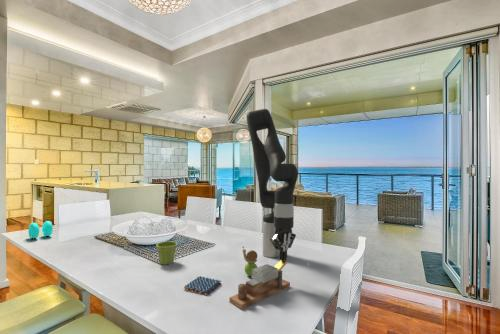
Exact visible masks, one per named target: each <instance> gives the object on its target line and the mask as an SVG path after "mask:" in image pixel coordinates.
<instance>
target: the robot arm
mask: <svg viewBox="0 0 500 334" xmlns="http://www.w3.org/2000/svg"><path fill="white" fill-rule="evenodd" d="M246 123H247V124H246V125H247V128H248V132H249V138H250V141H251V145H252V146H251V147H252V152H253V158H254V159H253V161H254V164H255V171H256V176H257V181H258V192H259V193H258V194H259V202H260V206H261V207H262V208H264V209H272V212H270V213H268V214H264V215H263V216H262V256H264V257H266V258H279V261H280V260H282V261H287V260H288V259H287V258H288V250H289V249H291V248H292V246H293V243H294V241H295V238H296V236H297V234H296V233H293V228H294V223H295V222H294V217H295V216H294V214H295V213H294V210H295V209H294V191H295V188H296V184H297V181H298V177H299V172H298V171H299V170H298V168H297V166H296V164H294V163H284V162H285V161H286V159H287V156H286V153H285V151H284V149H283V146H282V145H281V142H280V139H279V136H278V133H277V131H276V126H275V123H274V120H273V117H272V114H271V112H270V110H269V109H267V108H262V109H257V110H252V111H248V112H247V113H246ZM262 130H263V131H264V130H267V136H266V139H265V141H264V143H263V141H262V140H261V139H260V138H259V135H258V133H257V132H258V131H262ZM270 178H272V179H273V181H275V182H281V183H282V182H284V183H283V186H280V187H278V188H276V189H275V190H269V189H268V182H269V180H270Z"/></svg>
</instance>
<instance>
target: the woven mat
mask: <svg viewBox="0 0 500 334" xmlns="http://www.w3.org/2000/svg"><path fill="white" fill-rule="evenodd" d="M221 282H222V280H219V279H215V278H210V277H205V276H201V275H200V276H197V277H196V278H195V279H194V280H192V281H190V282H189V283H187V285H186V284H185V285H184V286H183V291H187V292H189V293H190V292H192V293H195V294H199V295H202V296H203V295H205V296H209V294H210V293H212V292H213V291H214V290H216V288H218V287H219V286H220V285H222V283H221Z"/></svg>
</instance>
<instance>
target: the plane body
mask: <svg viewBox="0 0 500 334" xmlns="http://www.w3.org/2000/svg"><path fill="white" fill-rule="evenodd" d="M237 287H238V288H237V289H238V290H237V292H238V293H237V294H234V295H232V296H230V297H229V300H228V301H229V303H230V304H232V305H233V306H235V307H236V308H237V309H240V310H243V309H246V308H247V307H249V306H253V305H254V304H257V303H258V302H260V301H263V300H265V299H267V298H269V297H271V296H273V295H275V294H277V293H280V292H282V291H284V290H286V289H288V288H290V287H291V283H290V281H288V280H285V279H283V269H281V270H280V271H279V274H278V277H277V278H274V279H272V280H269V281H267V282H265V283H261V282H259V281H257V280H254V279H252V278H251V279H250V280H247V281H245V283H240V284H238V286H237Z"/></svg>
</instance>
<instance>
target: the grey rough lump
mask: <svg viewBox="0 0 500 334" xmlns="http://www.w3.org/2000/svg"><path fill="white" fill-rule="evenodd" d="M257 267H258V268H255V269H252V275H251V276H250V277H251V280H252V279H254V280H257V281H259V282H261V283H265V282H267V281H269V280H272V279H274V278H277V277H278V268H276V267H275V266H274V265H271V264H268V263H266V264H264V265H260V266H257Z"/></svg>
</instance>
